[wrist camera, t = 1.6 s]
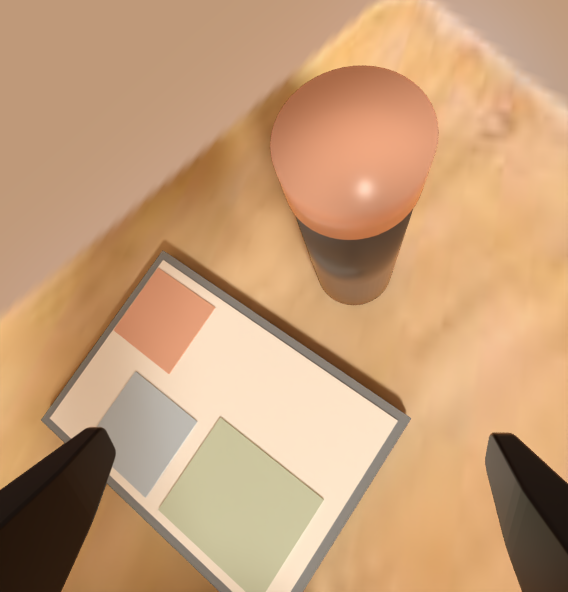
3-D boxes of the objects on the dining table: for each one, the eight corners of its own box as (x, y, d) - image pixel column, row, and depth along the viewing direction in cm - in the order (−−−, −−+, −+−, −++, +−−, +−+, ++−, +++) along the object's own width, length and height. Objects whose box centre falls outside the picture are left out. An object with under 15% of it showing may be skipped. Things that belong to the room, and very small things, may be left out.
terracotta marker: (408, 257, 23) (472, 102, 10) (366, 321, 22) (378, 243, 10) (342, 221, 24) (327, 44, 11) (301, 281, 24) (239, 166, 11)
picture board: (409, 417, 21) (412, 418, 20) (275, 631, 20) (270, 644, 19) (168, 254, 26) (161, 249, 25) (50, 418, 25) (38, 420, 24)
